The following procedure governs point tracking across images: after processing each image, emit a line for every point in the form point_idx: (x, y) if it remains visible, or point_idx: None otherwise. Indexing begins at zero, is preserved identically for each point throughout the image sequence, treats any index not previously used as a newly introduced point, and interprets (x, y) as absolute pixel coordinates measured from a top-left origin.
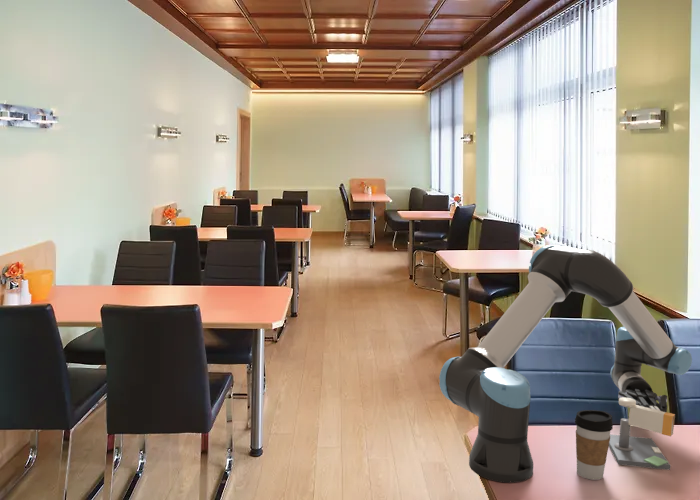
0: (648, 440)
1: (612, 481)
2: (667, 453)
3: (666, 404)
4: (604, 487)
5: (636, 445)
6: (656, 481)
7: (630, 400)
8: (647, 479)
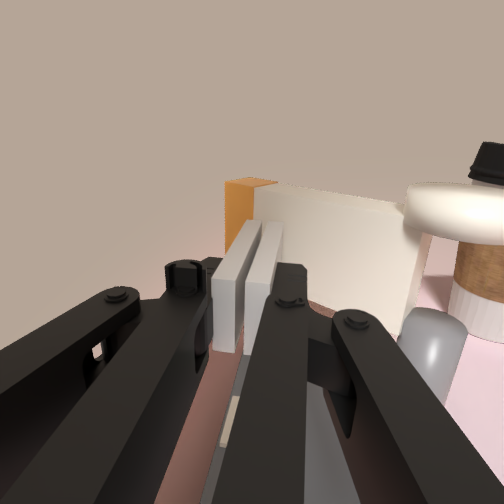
0: None
1: (420, 303)
2: (169, 463)
3: (63, 316)
4: (435, 288)
5: (325, 477)
6: (313, 305)
7: (447, 191)
8: (333, 310)
